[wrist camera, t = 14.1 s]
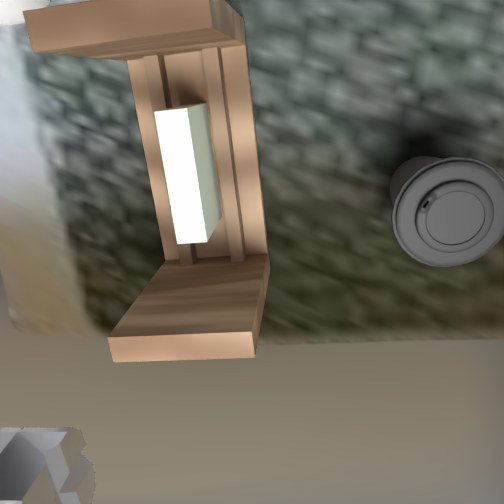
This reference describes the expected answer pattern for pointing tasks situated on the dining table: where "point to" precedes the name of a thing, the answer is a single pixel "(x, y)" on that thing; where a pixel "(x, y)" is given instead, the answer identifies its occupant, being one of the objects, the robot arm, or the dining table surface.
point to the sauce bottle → (18, 10)
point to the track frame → (226, 162)
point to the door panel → (189, 171)
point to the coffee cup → (447, 209)
